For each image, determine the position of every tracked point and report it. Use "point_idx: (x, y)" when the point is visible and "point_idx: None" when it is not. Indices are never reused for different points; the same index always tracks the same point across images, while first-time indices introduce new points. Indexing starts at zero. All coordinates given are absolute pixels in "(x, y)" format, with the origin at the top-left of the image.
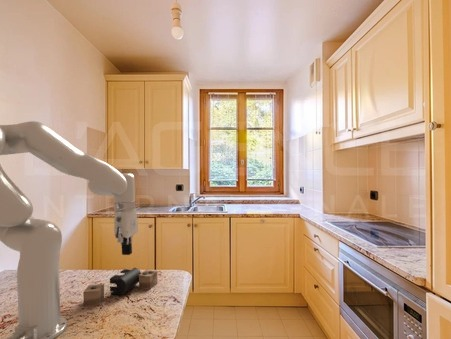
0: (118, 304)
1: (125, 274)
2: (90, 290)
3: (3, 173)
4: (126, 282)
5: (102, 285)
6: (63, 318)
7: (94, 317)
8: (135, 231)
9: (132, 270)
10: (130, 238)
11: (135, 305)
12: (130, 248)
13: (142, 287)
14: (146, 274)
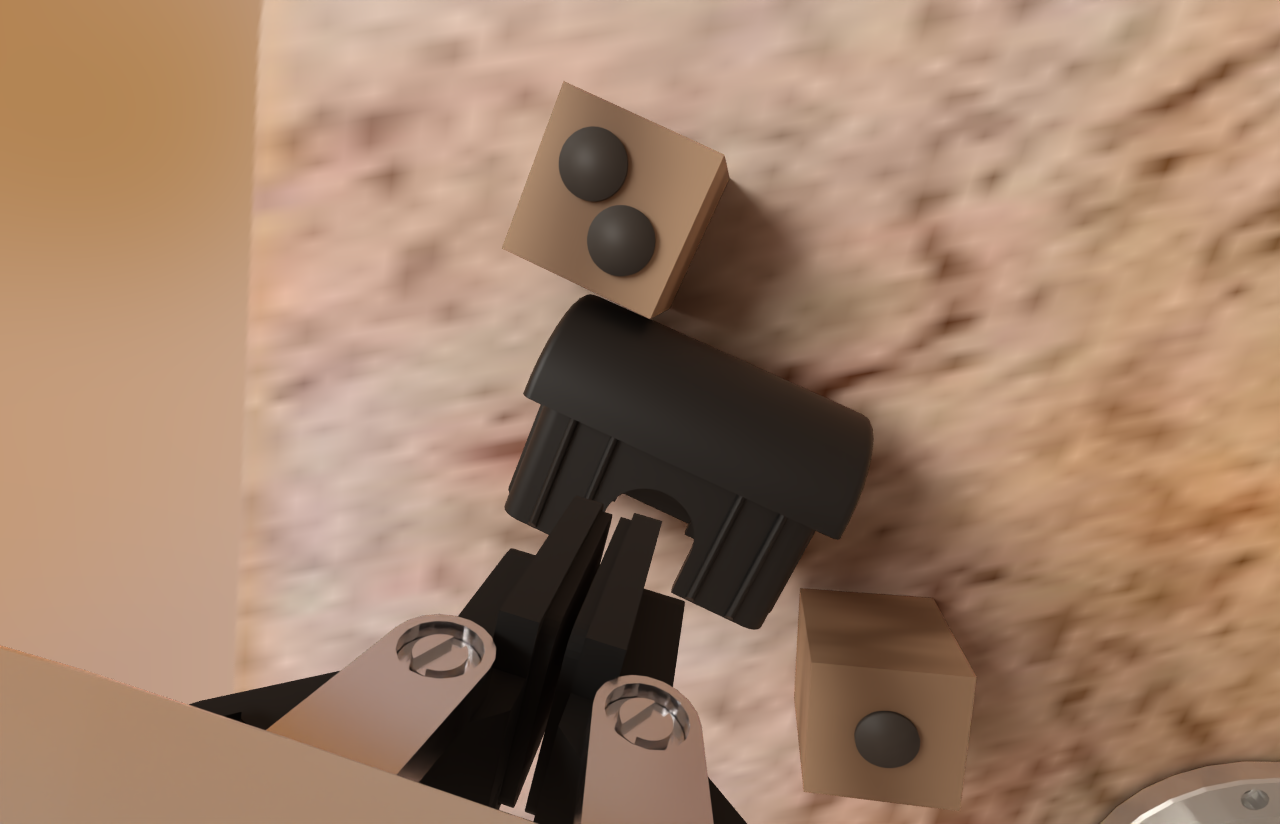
0: (975, 443)
1: (737, 476)
2: (946, 757)
3: None
4: (854, 431)
5: (850, 669)
6: (1165, 816)
7: (1150, 594)
8: (48, 783)
9: (616, 409)
10: (425, 747)
11: (1051, 278)
12: (615, 567)
13: (686, 270)
14: (651, 219)
